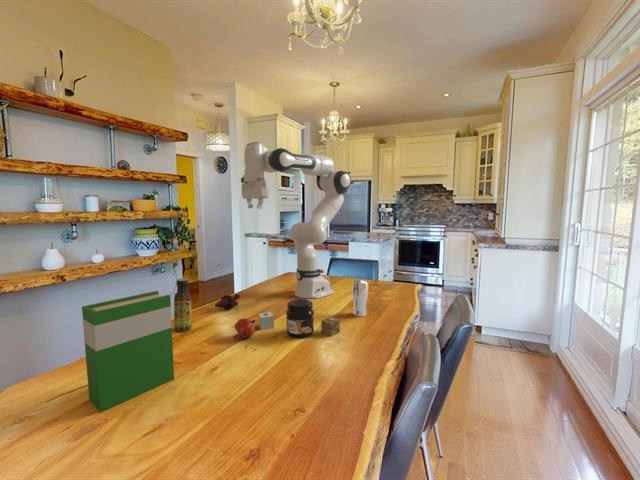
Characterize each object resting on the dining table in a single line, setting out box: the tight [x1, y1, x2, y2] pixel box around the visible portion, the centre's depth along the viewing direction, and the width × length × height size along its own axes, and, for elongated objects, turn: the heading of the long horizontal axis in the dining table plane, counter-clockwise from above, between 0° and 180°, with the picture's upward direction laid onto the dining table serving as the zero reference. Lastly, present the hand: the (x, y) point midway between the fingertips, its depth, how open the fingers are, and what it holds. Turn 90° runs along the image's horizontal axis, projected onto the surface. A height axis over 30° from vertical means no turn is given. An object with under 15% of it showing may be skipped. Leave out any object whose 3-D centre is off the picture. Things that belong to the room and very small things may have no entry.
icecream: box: [214, 294, 241, 311], centre depth 145 cm, size 7×7×15 cm
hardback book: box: [81, 290, 175, 413], centre depth 81 cm, size 18×7×24 cm, turn 143°
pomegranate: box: [233, 318, 257, 340], centre depth 114 cm, size 7×7×10 cm
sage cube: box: [257, 311, 275, 331], centre depth 125 cm, size 5×5×5 cm
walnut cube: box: [320, 316, 341, 337], centre depth 119 cm, size 5×5×5 cm
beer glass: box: [351, 279, 369, 318], centre depth 139 cm, size 7×7×15 cm
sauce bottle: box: [173, 278, 192, 333], centre depth 120 cm, size 6×6×20 cm
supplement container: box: [285, 298, 315, 339], centre depth 118 cm, size 10×10×12 cm
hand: (254, 208), depth 146 cm, fingers open, 8 cm apart
